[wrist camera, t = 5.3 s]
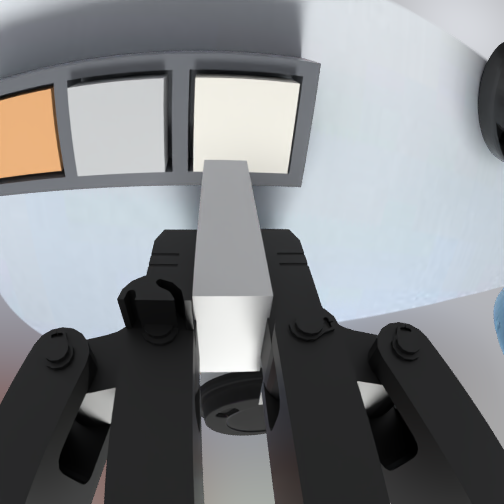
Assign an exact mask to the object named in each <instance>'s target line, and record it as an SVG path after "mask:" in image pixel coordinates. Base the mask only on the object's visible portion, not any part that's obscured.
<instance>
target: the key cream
mask: <svg viewBox="0 0 504 504" xmlns="http://www.w3.org/2000/svg"><path fill="white" fill-rule="evenodd" d="M299 87H300V84H299V83H298V82H296V81H294V80H293V79H287V78H277V77H265V76H252V75H233V74H197V75H196V77H195V103H194V148H193V172H203V167H204V160H243V161H247V164H248V169H249V172H258V173H285V174H287V171H288V165H289V158H290V151H291V144H292V138H293V131H294V124H295V116H296V109H297V102H298V95H299Z"/></svg>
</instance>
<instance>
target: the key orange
mask: <svg viewBox="0 0 504 504" xmlns="http://www.w3.org/2000/svg"><path fill="white" fill-rule="evenodd" d="M63 168H64V166H63V160H62V154H61V147H60V140H59V133H58V125H57V116H56V107H55V96H54V85H52V86H47V87H42V88H37V89H33V90H28V91H24V92H20V93H16V94H12V95H8V96H5V97H1V98H0V178H4V177H12V176H19V175H27V174H35V173H44V172H54V171H62V169H63Z"/></svg>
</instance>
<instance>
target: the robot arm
mask: <svg viewBox="0 0 504 504" xmlns="http://www.w3.org/2000/svg"><path fill="white" fill-rule="evenodd" d="M479 121H480V127H481V131H482V135H483V138H484V140H485V143H486V145H487V147H488V148H489V150H490V151H491V152H492V153H493V155H495V156H496V157H497V158H498V159H500V160H501V161H503V162H504V42H503V43H502V44H500V45H499V46H498V47H497V48H496V49H495V51H494V52H493V53H492V55H491V56H490V58H489V60H488V62H487V64H486V67H485V69H484V72H483V76H482V80H481V85H480V91H479ZM117 300H118V304H119V307H120V310H121V313H122V317H123V320H124V323H125V326H126V327H125V328H123V329H121V330H120V331H118V332H115V333H112V334H109V335H105V336H101V337H97V338H92V339H88V340H86V339H85V337H84V336H83V334H82V333H80V332H78V331H77V330H75V329H72V328H64V327H62V328H58V329H53V330H51V331H49V332H47V333H46V334H44V335H42V336H41V338H40V339H39V340H38V341H37V342H36V343H35V344H34V346H33V348H32V350H31V351H30V353H29V354H28V356H27V358H26V359H25V361H24V363H23V364H22V366H21V368H20V369H19V371H18V373H17V375H16V377H15V378H14V380H13V382H12V384H11V385H10V387H9V389H8V391H7V393H6V395H5V397H4V398H3V400H2V402H1V404H0V504H91V503H92V500H93V497H94V494H95V491H96V488H97V485H98V482H99V480H100V477H101V474H102V471H103V468H104V465H105V463H106V460H107V467H106V481H105V497H104V499H105V500H104V504H204V493H203V492H204V491H203V468H202V439H201V438H202V437H201V391H200V372H247V371H260V367H261V364H262V372H263V383H262V387H261V392H260V396H259V404H258V405H262V404H263V409H264V417H265V426H266V434H267V442H268V450H269V458H270V466H271V474H272V482H273V490H274V498H275V504H390V503H391V504H504V449H503V448H502V446H501V445H500V443H499V441H498V440H497V438H496V437H495V435H494V433H493V431H492V430H491V428H490V427H489V425H488V424H487V422H486V421H485V419H484V417H483V416H482V415H481V413H480V411H479V410H478V408H477V407H476V405H475V404H474V403H473V401H472V400H471V398H470V396H469V395H468V393H467V392H466V391H465V389H464V388H463V386H462V385H461V383H460V382H459V380H458V379H457V378H456V377H455V375H454V373H453V372H452V371H451V369H450V368H449V366H448V365H447V364H446V362H445V361H444V359H443V358H442V357H441V355H440V354H439V353H438V351H437V350H436V349H435V347H434V346H433V345H432V343H431V342H430V341H429V340H428V338H427V337H426V336H425V335H424V334H423V333H422V332H421V331H420V330H419V329H417V328H415V327H413V326H412V325H410V324H405V323H400V322H397V323H390V324H388V325H387V326H385V327H383V328H382V329H381V331H380V333H379V334H378V335H374V334H369V333H364V332H359V331H354V330H351V329H347V328H344V327H342V326H340V325H339V324H338V323H337V321H336V319H335V318H334V316H333V315H331V314H330V313H329V312H328V311H327V310H325V309H323V308H322V306H321V303H320V300H319V297H318V294H317V290H316V287H315V284H314V281H313V278H312V275H311V272H310V269H309V266H307V260H306V257H305V255H304V251H303V249H302V246H301V243H300V240H299V239H298V238H297V237H296V236H295V235H294V234H293V233H292V232H291V231H290V230H288V229H260V225H259V220H258V215H257V209H256V204H255V199H254V194H253V189H252V184H251V179H250V174H249V169H248V164H247V161H243V160H204V167H203V176H202V185H201V195H200V205H199V216H198V227H197V230H164V231H163V232H162V233H161V234H160V235H159V236H158V237H157V239H156V240H155V241H154V245H153V249H152V256H151V258H150V262H149V267H148V270H147V275H146V276H143V277H141V278H138V279H136V280H133V281H132V282H130V283H129V284H128V285H127V286H126V287H124V288H123V289H122V291H121V293H120V295H119V297H118V299H117ZM494 324H495V329H496V333H497V337H498V341H499V343H500V347H501V349H502V352H503V354H504V288H503V289H502V290H501V292H500V294H499V295H498V297H497V299H496V302H495V306H494Z"/></svg>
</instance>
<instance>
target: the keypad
mask: <svg viewBox="0 0 504 504" xmlns="http://www.w3.org/2000/svg"><path fill="white" fill-rule="evenodd" d="M320 66H321V64H320V63H317V62H314V61H311V60H307V59H304V58H299V57H292V56H283V55H274V54H263V53H251V52H234V51H161V52H145V53H133V54H123V55H114V56H106V57H98V58H91V59H85V60H79V61H73V62H68V63H63V64H58V65H53V66H48V67H44V68H40V69H35V70H31V71H27V72H24V73H20V74H16V75H13V76H9V77H6V78H3V79H0V98H1V97H5V96H8V95H12V94H16V93H20V92H24V91H28V90H33V89H37V88H42V87H47V86H52V85H54V96H55V107H56V116H57V125H58V133H59V140H60V147H61V154H62V160H63V166H64V168H63V169H62V171H54V172H44V173H35V174H27V175H19V176H12V177H4V178H0V196H6V195H15V194H25V193H35V192H47V191H59V190H73V189H89V188H107V187H130V186H164V185H202V176H203V172H193V148H194V103H195V77H196V75H197V74H233V75H252V76H265V77H277V78H287V79H293V80H294V81H296V82H298V83H299V84H300V87H299V95H298V102H297V109H296V116H295V124H294V131H293V138H292V144H291V151H290V158H289V165H288V171H287V174H285V173H258V172H249V174H250V179H251V184H252V186H285V187H301V184H302V179H303V173H304V167H305V161H306V155H307V150H308V144H309V137H310V131H311V125H312V119H313V113H314V106H315V100H316V93H317V87H318V80H319V73H320ZM162 74H168V163H167V166H166V170H165V172H150V173H124V174H105V175H90V176H78V175H77V169H76V162H75V156H74V149H73V141H72V133H71V125H70V115H69V104H68V91H67V88H69V87H71V86H73V85H75V84H77V83H80V82H86V81H94V80H101V79H110V78H120V77H131V76H144V75H162Z"/></svg>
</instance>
